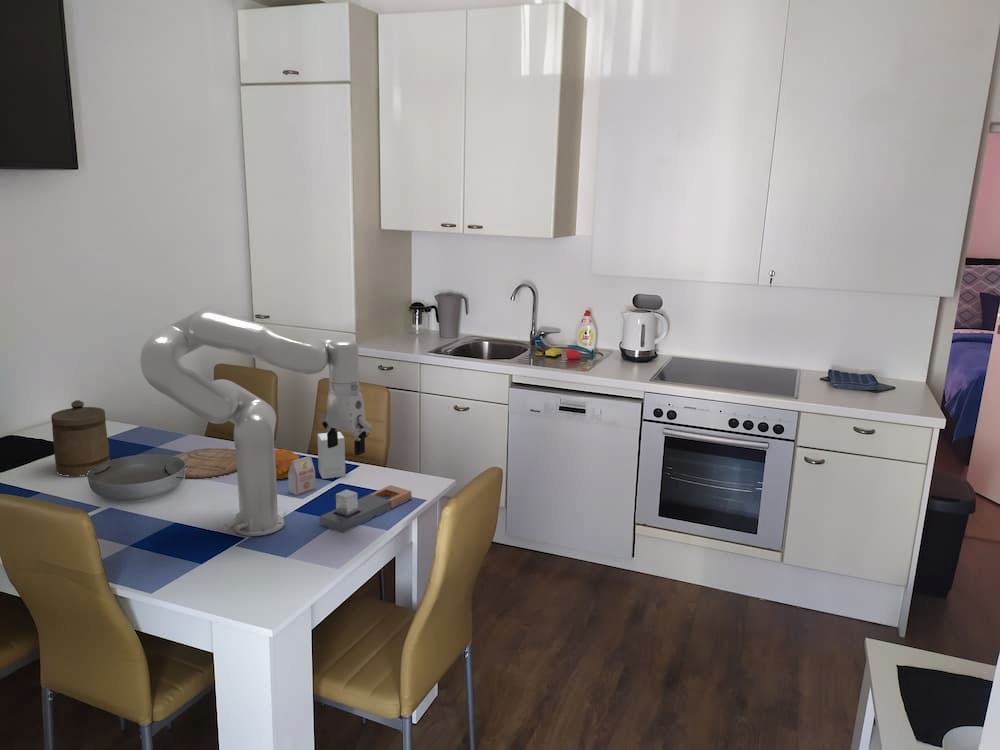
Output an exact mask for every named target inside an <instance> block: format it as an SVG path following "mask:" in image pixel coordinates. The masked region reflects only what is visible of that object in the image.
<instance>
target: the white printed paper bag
mask: <svg viewBox="0 0 1000 750" xmlns="http://www.w3.org/2000/svg"><path fill="white" fill-rule="evenodd" d="M287 480H288V482H287V483H288V493H290V492H291V493H290V494H292V493H293V494H292V495H294V494H295V496H299V495H298V494H300V495H302V494H305V493H308V492H311V491H314V490H316V469H315V465H314V463H313V459H312V455H308V456H305V457H301V458H299V459H297V460H294V461H291V466H290V469H289V472H288V478H287ZM313 489H314V490H313ZM310 490H311V491H310ZM307 491H308V492H307ZM304 492H305V493H304ZM301 493H302V494H301Z"/></svg>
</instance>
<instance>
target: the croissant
mask: <svg viewBox="0 0 1000 750" xmlns="http://www.w3.org/2000/svg"><path fill="white" fill-rule="evenodd" d="M297 459H300V458H299V456H298V455H297V454H296V453H294V452H293V451H292V450H288V449H286V448H278V449H275V465H276V481H278V480H277V479H279V480H285V479H284V478H286V479H288V472H289V469H290V466H291V461H294V460H297Z"/></svg>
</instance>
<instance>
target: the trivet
mask: <svg viewBox="0 0 1000 750" xmlns="http://www.w3.org/2000/svg"><path fill="white" fill-rule="evenodd" d="M172 457H177V458H180V459H181V460H183V461H184V463H185V466H186V471H185V480H206V479H205V478H209V479H213V478H212V477H216V478H220V477H219V476H222V477H225V476H224V475H226V476H230V475H232V474H231V473H233V474H235V473H234V472H236V473H237V461H236V451H235V448H228V447H210V448H208V447H207V448H199V449H194V450H193V449H192V450H189V451H185V452H182V453H178V454H176V455H173V456H172ZM229 474H230V475H229Z"/></svg>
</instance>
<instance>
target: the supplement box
mask: <svg viewBox="0 0 1000 750" xmlns="http://www.w3.org/2000/svg"><path fill="white" fill-rule="evenodd" d="M337 433H338V445H337V446H335V447H332V448H328V443H327V434H328V433H326V432H324V433H323V432H322V433H317V461H318V469H317V470H318V473H319V475H320V476H321V477H320V478H321V479H322V480H323V479H324V480H326V479H333V478H334V479H335V477H336V478H344V477H346V448H345V445H346V444H345V441H346V440H345V437H344V435H343V433H342V432H341V431H337Z"/></svg>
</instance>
